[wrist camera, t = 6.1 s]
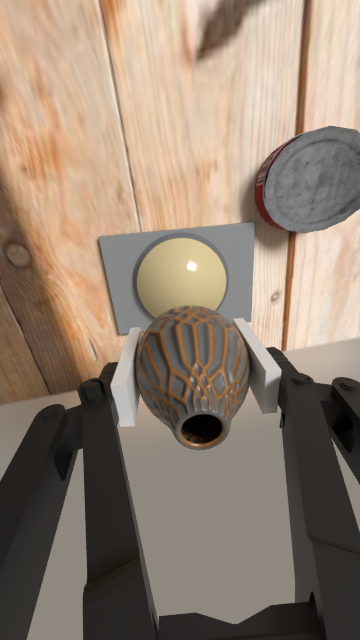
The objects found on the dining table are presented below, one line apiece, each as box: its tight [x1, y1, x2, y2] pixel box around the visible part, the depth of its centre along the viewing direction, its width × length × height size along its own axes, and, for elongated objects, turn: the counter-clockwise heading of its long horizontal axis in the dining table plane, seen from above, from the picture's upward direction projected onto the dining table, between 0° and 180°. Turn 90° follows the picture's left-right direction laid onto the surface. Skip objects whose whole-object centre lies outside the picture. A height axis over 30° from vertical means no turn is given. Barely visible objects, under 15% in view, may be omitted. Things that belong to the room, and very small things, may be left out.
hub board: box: [99, 222, 255, 335], centre depth 33 cm, size 14×20×2 cm
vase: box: [135, 305, 250, 450], centre depth 14 cm, size 7×7×9 cm
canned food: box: [255, 126, 360, 233], centre depth 27 cm, size 11×10×10 cm
